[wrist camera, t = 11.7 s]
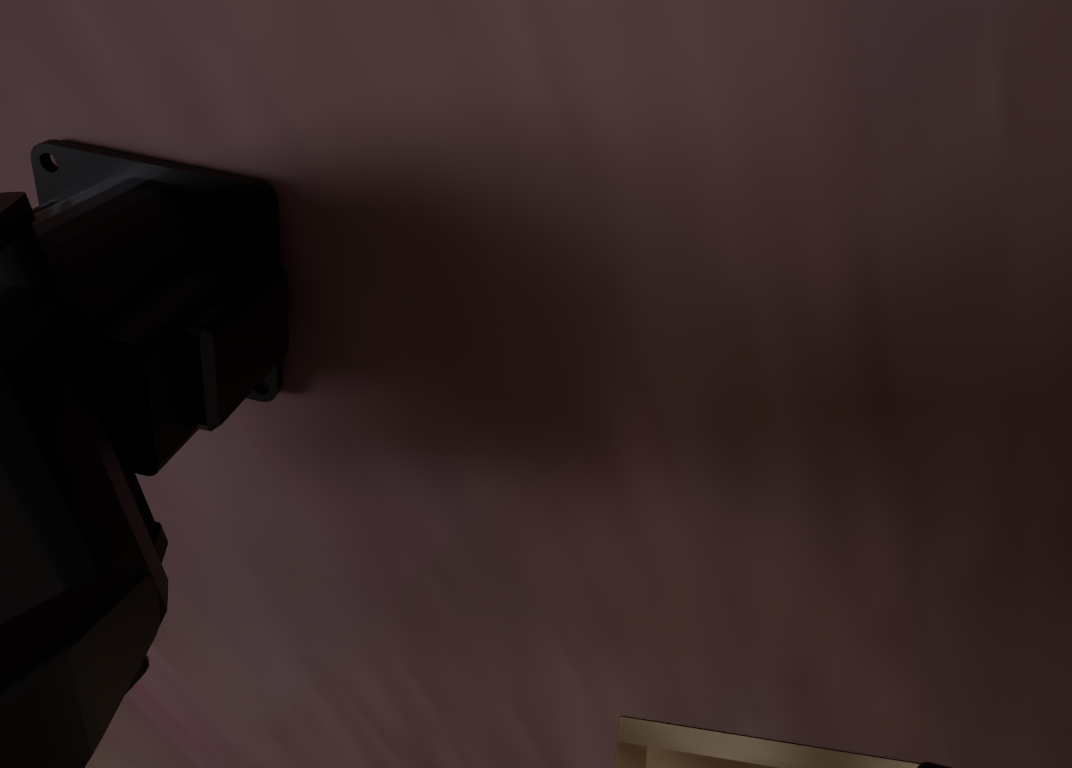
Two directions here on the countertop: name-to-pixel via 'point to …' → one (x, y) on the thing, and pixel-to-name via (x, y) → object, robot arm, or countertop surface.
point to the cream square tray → (724, 750)
